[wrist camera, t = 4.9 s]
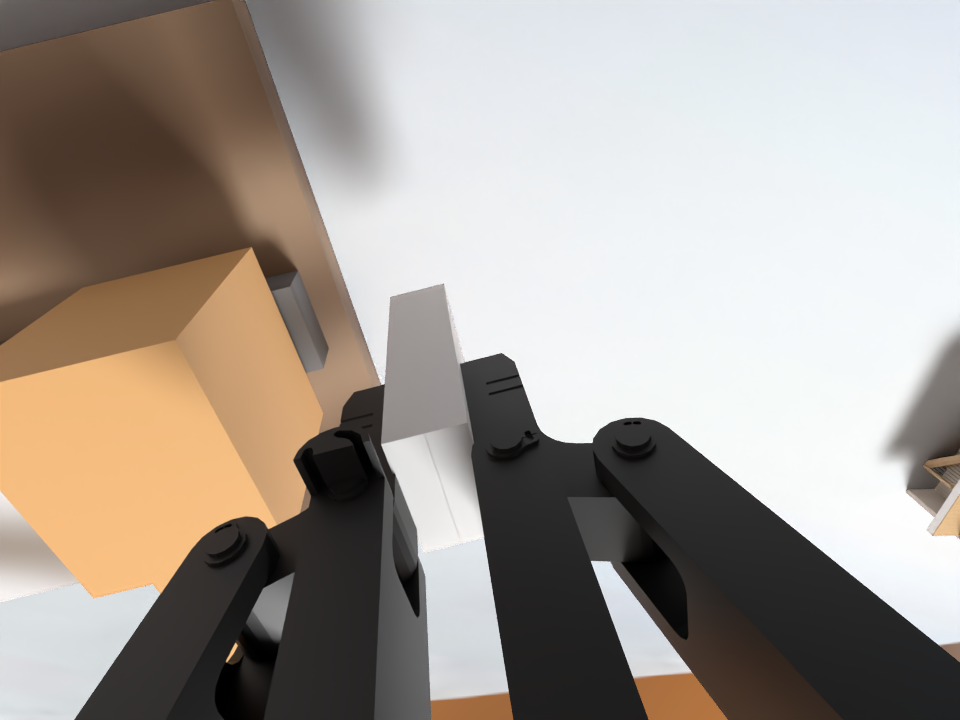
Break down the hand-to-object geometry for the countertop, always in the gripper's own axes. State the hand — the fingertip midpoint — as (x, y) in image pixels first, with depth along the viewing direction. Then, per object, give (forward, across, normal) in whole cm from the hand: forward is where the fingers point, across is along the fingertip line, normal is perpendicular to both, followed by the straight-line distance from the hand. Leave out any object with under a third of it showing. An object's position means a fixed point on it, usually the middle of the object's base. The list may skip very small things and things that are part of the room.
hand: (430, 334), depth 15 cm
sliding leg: (+3, -7, -2) cm, 8 cm away
